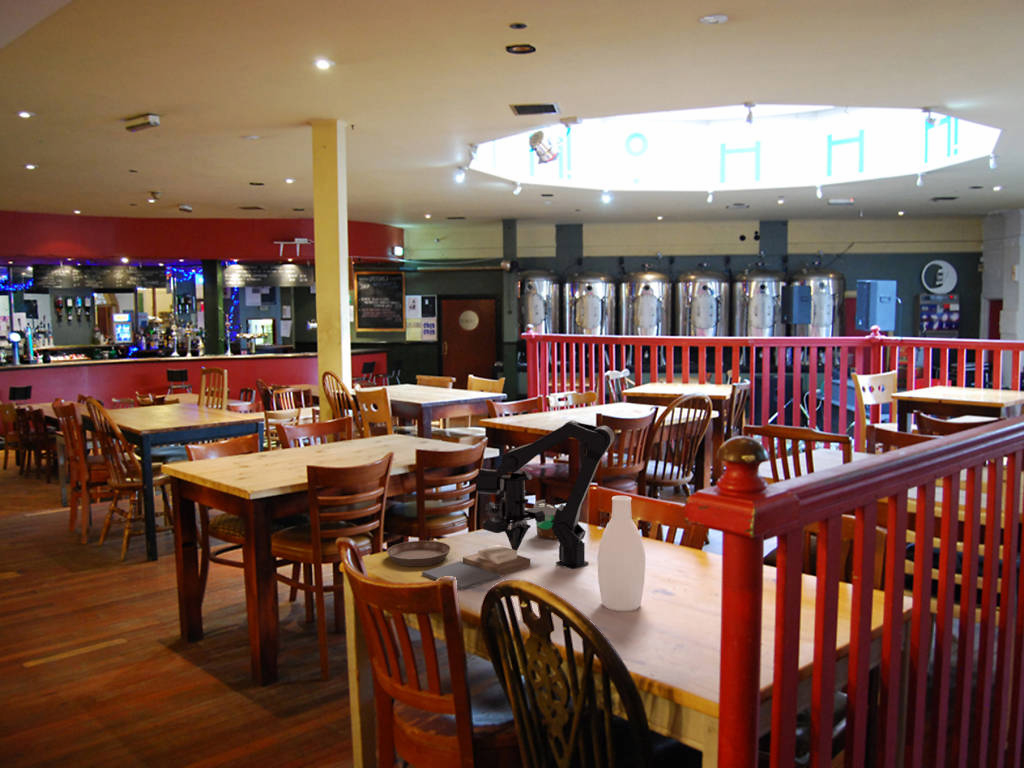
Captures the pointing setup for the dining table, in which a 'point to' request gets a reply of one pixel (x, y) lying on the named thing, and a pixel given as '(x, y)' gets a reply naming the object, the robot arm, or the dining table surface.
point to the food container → (546, 526)
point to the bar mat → (462, 574)
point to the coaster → (497, 554)
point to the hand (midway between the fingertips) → (514, 550)
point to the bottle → (621, 560)
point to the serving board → (498, 568)
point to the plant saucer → (418, 553)
